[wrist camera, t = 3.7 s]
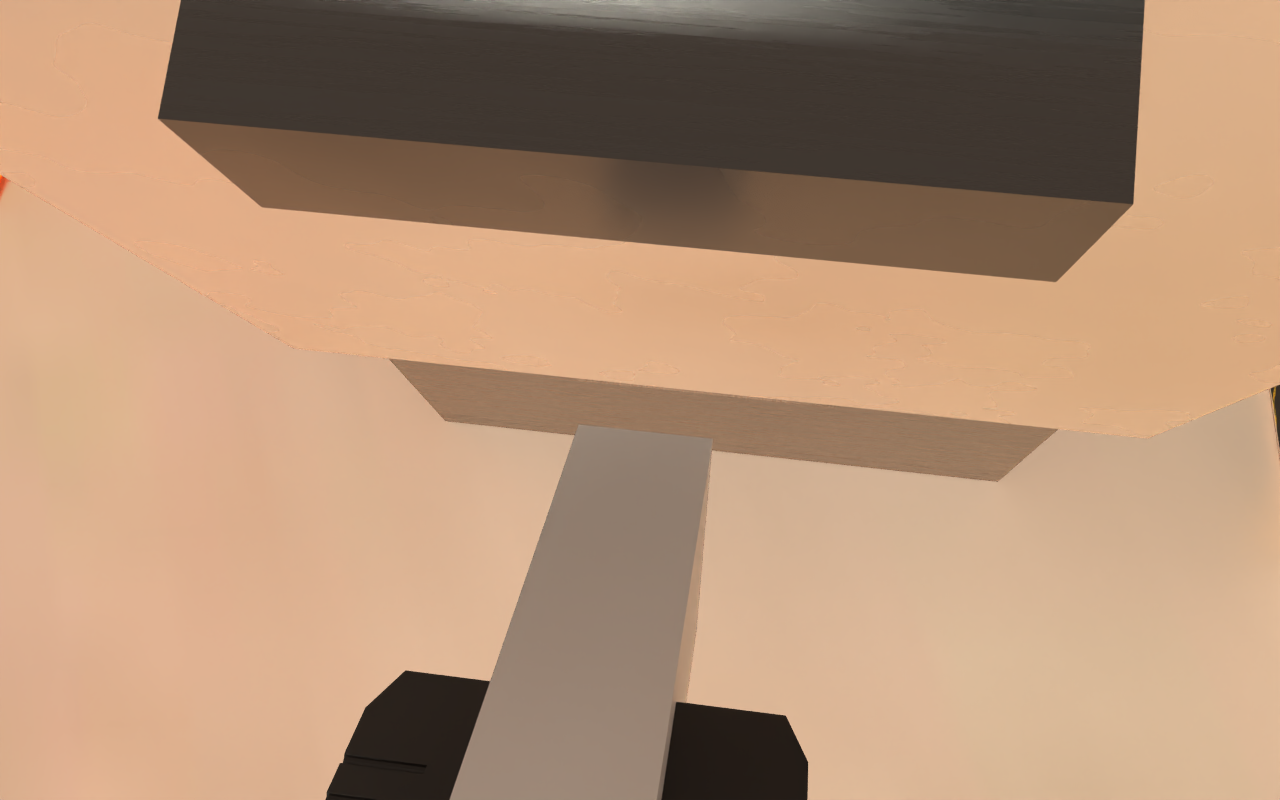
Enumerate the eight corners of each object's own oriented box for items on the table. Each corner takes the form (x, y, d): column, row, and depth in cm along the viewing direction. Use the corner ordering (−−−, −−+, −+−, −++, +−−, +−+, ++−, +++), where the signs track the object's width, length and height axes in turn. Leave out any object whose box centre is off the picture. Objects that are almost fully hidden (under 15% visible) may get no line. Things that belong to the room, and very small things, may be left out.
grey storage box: (1074, 490, 38) (1211, 400, 27) (375, 413, 40) (251, 302, 30) (1093, -10, 43) (1217, -252, 32) (463, -55, 45) (382, -297, 34)
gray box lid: (1131, 394, 27) (1124, 517, 27) (320, 311, 29) (301, 425, 29) (2215, -189, 7) (2259, 252, 7) (-580, -340, 9) (-689, 3, 9)
